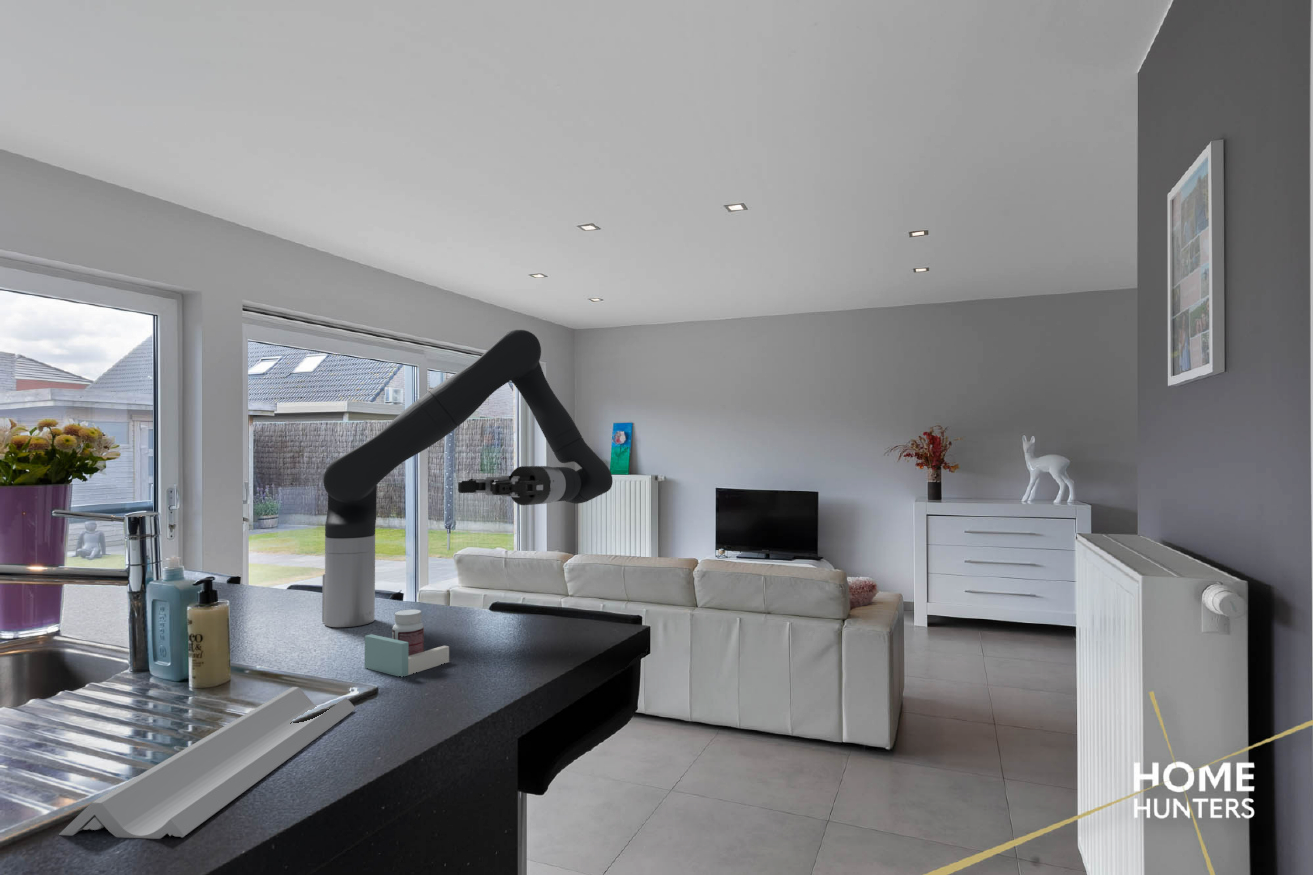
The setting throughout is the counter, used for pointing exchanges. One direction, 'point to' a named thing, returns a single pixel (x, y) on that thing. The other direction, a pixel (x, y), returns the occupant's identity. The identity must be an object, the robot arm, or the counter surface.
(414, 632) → the pill bottle
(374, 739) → the counter surface
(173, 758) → the crown molding
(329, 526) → the robot arm
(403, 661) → the u-shaped bracket
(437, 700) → the counter surface
